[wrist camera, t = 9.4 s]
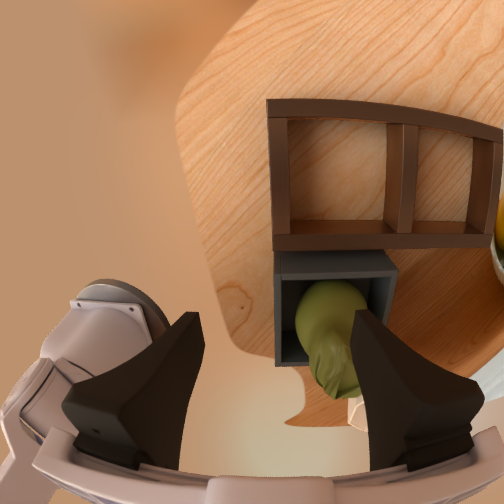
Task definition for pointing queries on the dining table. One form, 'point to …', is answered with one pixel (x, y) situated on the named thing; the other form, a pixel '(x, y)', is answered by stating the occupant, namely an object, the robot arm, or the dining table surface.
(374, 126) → the dining table surface
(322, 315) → the olive cloth sack
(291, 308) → the tub
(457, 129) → the rack
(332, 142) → the dining table surface
